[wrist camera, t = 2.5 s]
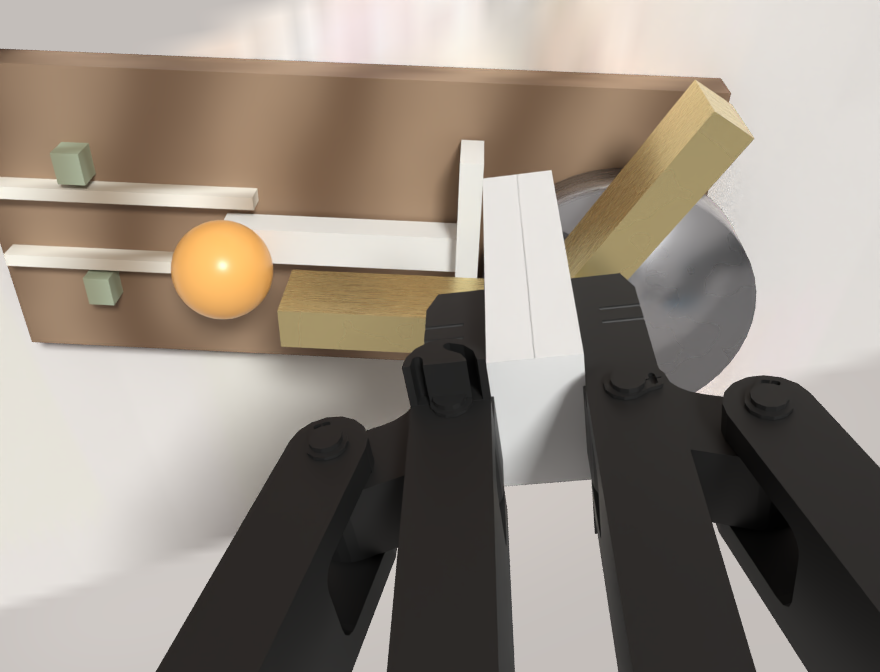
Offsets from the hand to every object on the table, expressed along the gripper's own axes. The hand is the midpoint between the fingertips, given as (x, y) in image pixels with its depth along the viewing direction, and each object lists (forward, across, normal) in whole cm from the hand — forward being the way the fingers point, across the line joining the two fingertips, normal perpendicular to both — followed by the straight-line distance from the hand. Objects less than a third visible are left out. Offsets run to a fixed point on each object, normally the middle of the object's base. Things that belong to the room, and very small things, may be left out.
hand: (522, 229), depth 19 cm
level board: (+13, -7, -6) cm, 16 cm away
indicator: (+11, -7, -5) cm, 14 cm away
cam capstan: (+11, +2, -6) cm, 13 cm away
